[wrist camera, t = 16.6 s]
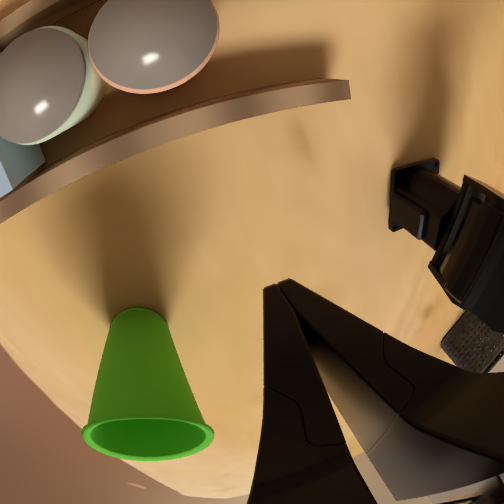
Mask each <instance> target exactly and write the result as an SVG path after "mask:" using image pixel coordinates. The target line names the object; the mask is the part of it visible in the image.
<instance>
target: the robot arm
mask: <svg viewBox="0 0 504 504" xmlns="http://www.w3.org/2000/svg"><path fill="white" fill-rule="evenodd" d="M438 173H439V160H438V159H435V158H432V159H429V160H425V161H421V162H417V163H413V164H409V165H405V166H402V167H398V168H395V169H394V170H393V171H392V174H391V201H390V218H389V229H390V230H391V231H392V232H395V231H398V230H400V229H402V228H404V229H405V230H407V231H408V232H409V233H411V234H412V235H413V236H414V237H416V238H417V239H418V240H420V239H421V240H423V241H424V242H425V243H426V244H427V245H429V246H430V247H431V248H432V249H433V250H435V251H436V252H435V254H434V256H433V258H432V260H431V261H430V262H429V265H428V268H429V269H430V271H431V272H432V274H433V275H434V277H435V278H436V280H437V281H438V283H439V284H440V285H441V287H442V288H443V290H444V291H445V293H446V294H447V296H448V297H449V299H450V300H451V302H452V303H453V304H455V305H457V306H458V307H460V308H462V309H463V310H466V311H468V312H471V313H473V314H474V315H476V316H477V317H478V318H480V319H481V320H482V321H483V322H484V323H485V324H486V325H487V326H488V327H489V328H490V329H491V330H492V331H494V332H499V333H504V194H503V193H501V192H499V191H498V190H496V189H494V188H492V187H491V186H489V185H487V184H485V183H483V182H481V181H479V180H476V179H474V178H472V177H469V176H467V175H464V177H463V180H462V181H463V184H462V187H460V186H458V185H456V184H454V183H453V182H451V181H449V180H447V179H445V178H444V177H442V176H440V175H438ZM263 340H264V388H263V396H264V400H263V420H262V428H261V436H260V443H259V449H258V454H257V460H256V466H255V471H254V477H253V482H252V486H251V491H250V494H249V498H248V501H247V504H377V502H376V500H375V499H374V497H373V495H372V494H371V492H370V490H369V489H368V486H367V485H366V483H365V481H364V479H363V478H362V476H361V474H360V472H359V471H358V469H357V467H356V465H355V463H354V461H353V459H352V456H351V454H350V452H349V449H348V447H347V444H345V443H346V441H345V438H344V436H343V433H342V430H341V428H340V425H339V422H338V420H337V417H336V415H335V412H334V409H333V407H332V404H331V401H330V399H329V396H330V397H331V399H332V400H333V402H334V404H335V405H336V407H337V408H338V410H339V412H340V413H341V415H342V416H343V418H344V420H345V421H346V423H347V424H348V426H349V427H350V429H351V431H352V432H353V434H354V435H355V437H356V439H357V440H358V442H359V443H360V445H361V446H362V448H363V450H364V451H365V453H366V454H367V456H368V458H369V459H370V461H371V462H372V464H373V465H374V467H375V469H376V470H377V472H378V473H379V475H380V476H381V478H382V479H383V481H384V483H385V484H386V486H387V487H388V489H389V490H390V492H391V493H392V495H393V497H394V498H395V500H396V501H399V500H406V499H413V498H418V497H424V496H428V497H429V499H430V501H431V502H432V504H504V372H497V373H477V372H472V371H468V370H465V369H462V368H459V367H457V366H455V365H452V364H450V363H447V362H445V361H442V360H440V359H438V358H435V357H433V356H430V355H428V354H426V353H424V352H421V351H419V350H417V349H415V348H413V347H410V346H409V345H407V344H405V343H403V342H401V341H399V340H397V339H395V338H394V337H392V336H390V335H388V334H387V333H383V331H381V330H379V329H378V328H376V327H374V326H372V325H371V324H369V323H367V322H365V321H364V320H362V319H360V318H359V317H357V316H355V315H353V314H352V313H350V312H348V311H346V310H345V309H343V308H341V307H339V306H338V305H336V304H334V303H332V302H331V301H329V300H327V299H325V298H324V297H322V296H320V295H318V294H317V293H315V292H313V291H312V290H310V289H308V288H306V287H305V286H303V285H301V284H299V283H298V282H296V281H294V280H292V279H290V278H288V279H286V280H283V281H280V282H278V283H277V284H272V285H270V286H267V287H264V289H263ZM327 392H328V394H329V396H328V394H327Z"/></svg>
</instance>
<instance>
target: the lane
mask: <svg viewBox="0 0 504 504" xmlns="http://www.w3.org/2000/svg"><path fill="white" fill-rule="evenodd" d="M98 1H101V0H30V1H29V2H27V3H26V4H24V5H22V6H21V7H19V8H18V9H16V10H15V11H14V12H12V13H11V14H9V15H8V16H6V17H5V18H4V19H2V20H1V21H0V52H3V51H4V49H5V48H6V47H7V46H8V45H9V44H10V43H11V42H13V41H14V40H15V39H17V38H18V37H19V36H21V35H23V34H25V33H27V32H29V31H31V30H34V29H37V28H40V27H45V26H49V25H51V24H53V23H55V22H56V21H58V20H60V19H62V18H64V17H66V16H68V15H70V14H72V13H74V12H76V11H78V10H80V9H82V8H84V7H87V6H89V5H91V4H93V3H96V2H98ZM347 99H351V95H350V87H349V80H339V79H324V78H323V79H314V80H307V81H300V82H293V83H287V84H281V85H275V86H269V87H264V88H259V89H254V90H250V91H245V92H241V93H236V94H232V95H228V96H224V97H220V98H216V99H213V100H209V101H205V102H202V103H198V104H195V105H192V106H188V107H185V108H182V109H179V110H176V111H173V112H170V113H167V114H164V115H161V116H158V117H155V118H153V119H150V120H147V121H145V122H142V123H139V124H137V125H134V126H132V127H129V128H127V129H124V130H122V131H119V132H117V133H115V134H112V135H110V136H108V137H106V138H103V139H101V140H99V141H97V142H95V143H92V144H90V145H88V146H86V147H84V148H82V149H80V150H78V151H76V152H74V153H72V154H70V155H68V156H66V157H64V158H62V159H61V160H59V161H57V162H55V163H53V164H51V165H50V166H48V167H46V168H44V169H43V170H41V171H39V172H38V173H36V174H34V175H33V176H31V177H29V178H28V179H26V180H24V181H23V182H21V183H20V184H18V185H17V186H16V187H15V188H14V189H13V190H11V191H10V192H8V193H7V194H5V195H4V196H2V197H1V198H0V224H1V223H2V222H4V221H5V220H7V219H8V218H10V217H12V216H13V215H15V214H16V213H18V212H20V211H21V210H23V209H25V208H26V207H28V206H30V205H31V204H33V203H35V202H37V201H38V200H40V199H42V198H44V197H46V196H47V195H49V194H51V193H53V192H55V191H57V190H59V189H61V188H62V187H64V186H66V185H68V184H70V183H72V182H74V181H76V180H78V179H80V178H82V177H85V176H87V175H89V174H91V173H93V172H95V171H97V170H100V169H102V168H104V167H106V166H109V165H111V164H113V163H116V162H118V161H120V160H123V159H125V158H127V157H130V156H132V155H135V154H137V153H140V152H143V151H145V150H148V149H150V148H153V147H156V146H158V145H161V144H164V143H167V142H170V141H173V140H175V139H178V138H181V137H184V136H187V135H191V134H194V133H197V132H200V131H203V130H207V129H210V128H213V127H217V126H220V125H224V124H227V123H231V122H235V121H239V120H242V119H246V118H250V117H254V116H259V115H263V114H267V113H272V112H276V111H281V110H286V109H291V108H296V107H302V106H307V105H313V104H319V103H325V102H332V101H339V100H347Z"/></svg>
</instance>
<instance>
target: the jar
mask: <svg viewBox="0 0 504 504" xmlns="http://www.w3.org/2000/svg"><path fill="white" fill-rule="evenodd" d="M219 31H220V28H219V18H218V14H217V12H216V9H215V7H214V5H213V3H212V2H211V1H210V0H108V1H107V2H106V3H105V4H104V5H103V6H102V8H101V9H100V10H99V12H98V14H97V15H96V17H95V19H94V21H93V23H92V26H91V29H90V32H89V37H88V53H89V58H90V61H91V63H92V65H93V67H94V69H95V71H96V72H97V73H98V75H99V76H100V77H101V78H102V79H103V80H104V81H105V82H107V83H108V84H110V85H111V86H113V87H115V88H117V89H120V90H123V91H126V92H131V93H139V94H149V93H157V92H162V91H165V90H169V89H171V88H174V87H177V86H179V85H181V84H182V83H184V82H186V81H187V80H189V79H191V78H192V77H193V76H194V75H196V74H197V73H198V72H199V71H200V70H201V69H202V68H203V67H204V66H205V65H206V63H207V62H208V61H209V59H210V58H211V56H212V54H213V53H214V50H215V48H216V46H217V42H218V39H219Z"/></svg>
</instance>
